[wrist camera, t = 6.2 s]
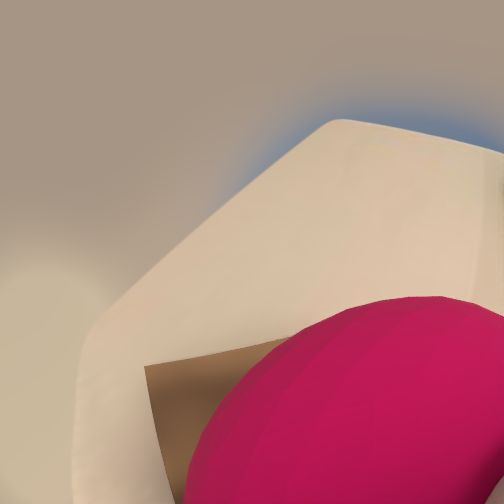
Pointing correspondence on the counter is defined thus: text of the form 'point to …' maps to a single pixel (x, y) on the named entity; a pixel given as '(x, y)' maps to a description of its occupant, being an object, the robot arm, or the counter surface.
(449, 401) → the pepper mill
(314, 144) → the counter surface
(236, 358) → the walnut board
